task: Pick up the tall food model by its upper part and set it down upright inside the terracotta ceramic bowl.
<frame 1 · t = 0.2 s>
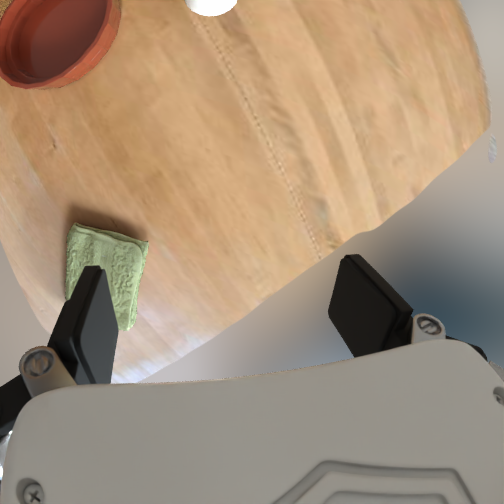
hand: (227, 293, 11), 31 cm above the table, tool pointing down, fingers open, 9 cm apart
bowl: (62, 31, 25), on the table
washcloth: (103, 275, 43), on the table
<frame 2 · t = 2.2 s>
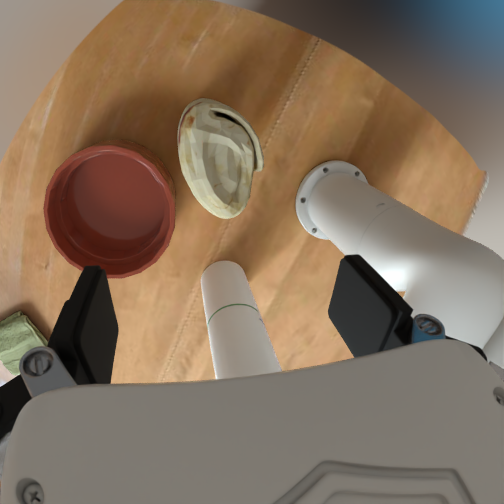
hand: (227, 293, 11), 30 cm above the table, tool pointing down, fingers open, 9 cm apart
food model: (204, 135, 36), on the table
bowl: (115, 201, 37), on the table
washcloth: (20, 341, 44), on the table
cylindrical container: (223, 279, 47), on the table
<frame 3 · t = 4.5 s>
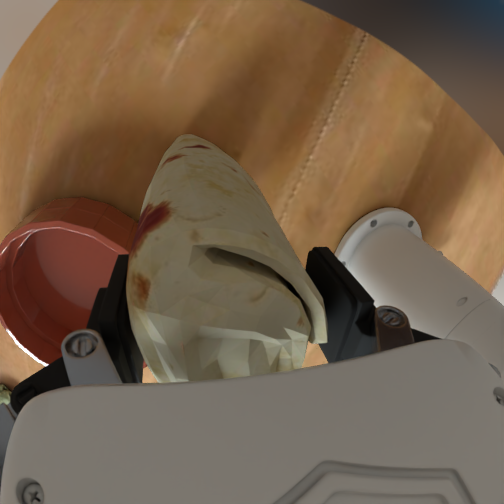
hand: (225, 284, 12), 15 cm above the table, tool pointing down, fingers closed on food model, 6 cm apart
food model: (201, 183, 25), on the table, touching gripper
bowl: (85, 278, 26), on the table
washcloth: (9, 408, 34), on the table
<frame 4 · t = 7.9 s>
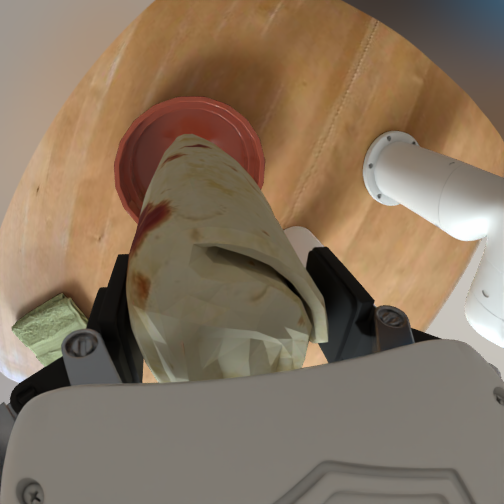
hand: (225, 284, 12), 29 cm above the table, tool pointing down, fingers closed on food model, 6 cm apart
food model: (201, 183, 25), point 14 cm above the table, touching gripper
bowl: (188, 162, 37), on the table
washcloth: (58, 329, 45), on the table
cylindrical container: (293, 246, 47), on the table
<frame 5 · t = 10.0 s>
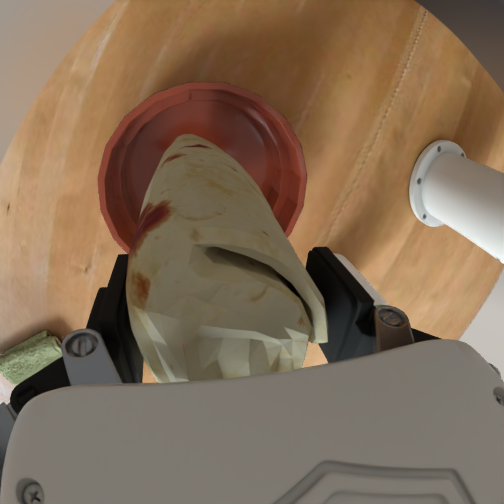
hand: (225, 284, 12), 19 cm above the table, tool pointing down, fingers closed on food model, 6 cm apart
food model: (201, 183, 25), point 4 cm above the table, touching gripper
bowl: (199, 173, 28), on the table
washcloth: (45, 366, 36), on the table
cylindrical container: (326, 276, 38), on the table
when the fingers open (16 cm above the table, at t = 11.5 s): food model stays where it is, resting on bowl.
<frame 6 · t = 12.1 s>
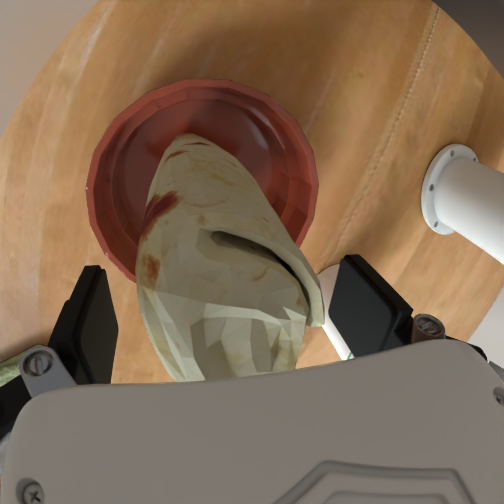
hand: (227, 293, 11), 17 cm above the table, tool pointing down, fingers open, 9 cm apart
food model: (200, 181, 26), resting on bowl
bowl: (199, 180, 26), on the table
washcloth: (40, 379, 33), on the table
cylindrical container: (333, 288, 36), on the table
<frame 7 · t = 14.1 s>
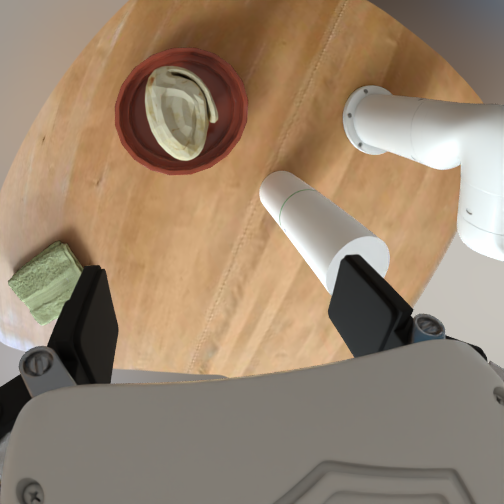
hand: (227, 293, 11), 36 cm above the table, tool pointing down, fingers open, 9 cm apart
food model: (181, 109, 39), resting on bowl
bowl: (181, 110, 39), on the table
washcloth: (53, 281, 46), on the table
cylindrical container: (280, 191, 49), on the table
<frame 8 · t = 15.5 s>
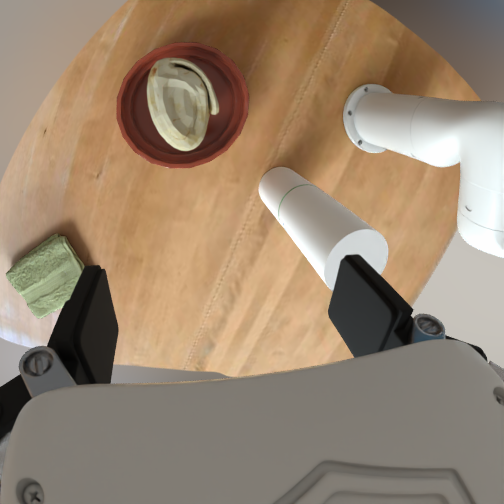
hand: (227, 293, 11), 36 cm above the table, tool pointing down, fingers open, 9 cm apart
food model: (183, 104, 38), resting on bowl
bowl: (182, 104, 39), on the table
washcloth: (51, 274, 46), on the table
cylindrical container: (279, 187, 48), on the table
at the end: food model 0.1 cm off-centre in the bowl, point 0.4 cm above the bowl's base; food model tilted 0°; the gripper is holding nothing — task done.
